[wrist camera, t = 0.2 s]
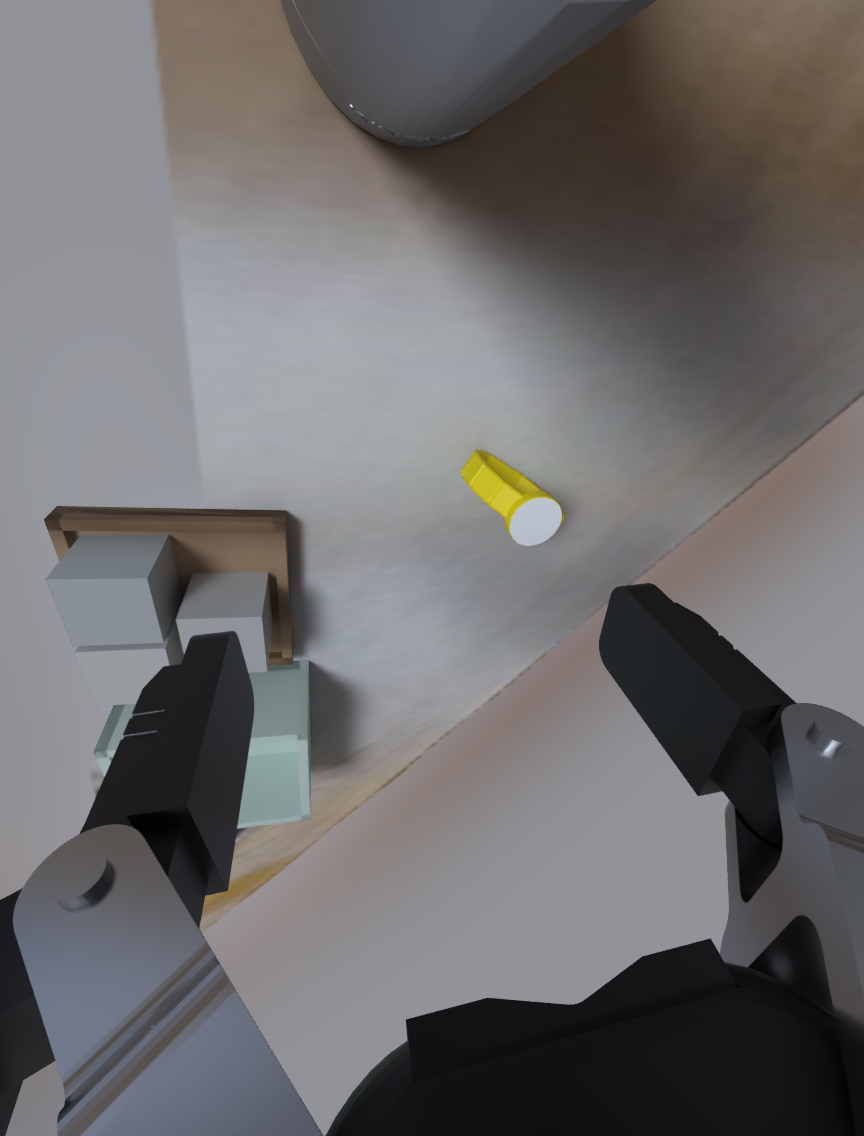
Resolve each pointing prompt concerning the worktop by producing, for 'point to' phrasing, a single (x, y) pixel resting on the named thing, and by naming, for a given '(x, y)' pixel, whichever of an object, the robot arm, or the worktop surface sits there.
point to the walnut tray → (200, 548)
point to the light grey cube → (127, 666)
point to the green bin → (259, 746)
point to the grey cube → (230, 612)
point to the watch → (513, 499)
